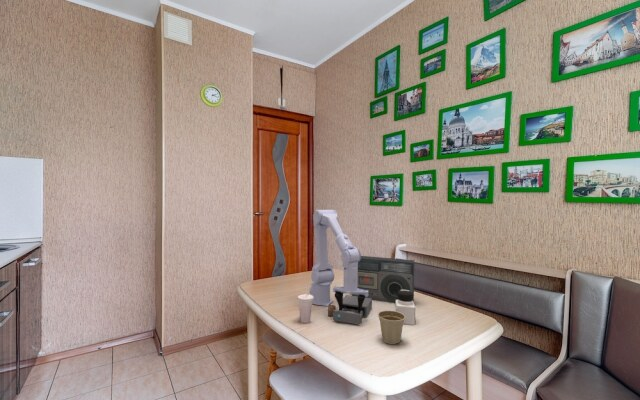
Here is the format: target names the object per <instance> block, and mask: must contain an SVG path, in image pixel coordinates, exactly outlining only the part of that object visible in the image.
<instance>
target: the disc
mask: <svg viewBox="0 0 640 400" xmlns="http://www.w3.org/2000/svg"><path fill="white" fill-rule="evenodd" d="M343 311H346V312H352V313H357V311H356V310H353V309H345V310H343Z"/></svg>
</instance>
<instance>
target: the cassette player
mask: <svg viewBox="0 0 640 400" xmlns="http://www.w3.org/2000/svg"><path fill="white" fill-rule="evenodd" d="M357 288H359V289H363V290H367V291H368V297H365V298H372V301H375V302H382V303H390V304H396V300H397V299H398V291H400V290H408V291H411V292H412V293H413V302H415V260H414V259H404V258H403V259H402V258H391V257H390V258H389V257H381V256H380V257H379V256H367V255H361V260H360V261H359V262H358V285H357ZM351 296H357V297H358V296H359V295H354V294H351Z"/></svg>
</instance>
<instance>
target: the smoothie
mask: <svg viewBox="0 0 640 400" xmlns="http://www.w3.org/2000/svg"><path fill="white" fill-rule="evenodd" d="M297 300H298V308H299V317H300V318H299V319H300V322H301V323H305V324H307V323H310V322H311V316H312V315H311V314H312V311H313V309H312V308H313V304H312V303H313V300H314V296H312V295H310V293H309V294H308V286H307V285H305V293H304V294H299V295H298V296H297Z"/></svg>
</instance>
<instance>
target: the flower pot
mask: <svg viewBox="0 0 640 400" xmlns="http://www.w3.org/2000/svg"><path fill="white" fill-rule="evenodd" d="M377 316H378V319H379V325H380V332H381V340H382V341H384V342H385V343H387V344H389V345H396V344H399V343H400V342H401V339H402V333H403V325H404V324H403V323H404V320H405V315H404V314H402V313H400V312H397V311H395V310H382V311H379V312H377Z"/></svg>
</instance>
